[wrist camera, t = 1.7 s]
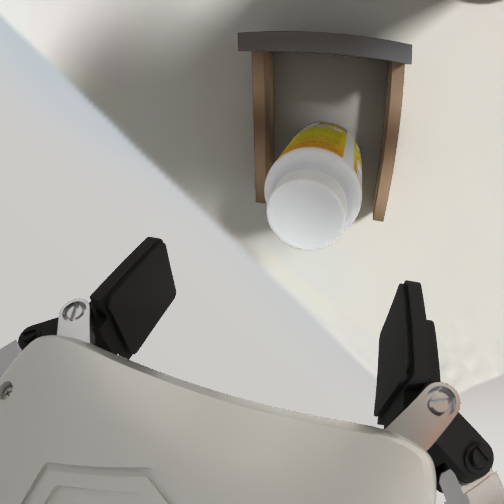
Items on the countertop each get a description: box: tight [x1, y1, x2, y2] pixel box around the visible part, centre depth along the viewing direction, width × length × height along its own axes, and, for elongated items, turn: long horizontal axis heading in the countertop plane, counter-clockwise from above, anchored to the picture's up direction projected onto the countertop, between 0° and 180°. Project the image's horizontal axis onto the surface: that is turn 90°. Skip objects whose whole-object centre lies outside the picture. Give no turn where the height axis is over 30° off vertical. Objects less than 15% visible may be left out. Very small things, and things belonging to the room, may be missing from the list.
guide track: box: [238, 31, 412, 222], centre depth 19 cm, size 13×10×5 cm
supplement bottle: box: [264, 122, 362, 250], centre depth 19 cm, size 6×6×10 cm
